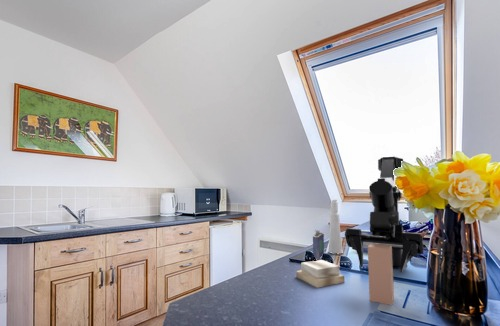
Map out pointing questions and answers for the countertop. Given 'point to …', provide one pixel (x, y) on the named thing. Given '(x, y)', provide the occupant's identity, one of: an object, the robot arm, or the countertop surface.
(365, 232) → the medicine box
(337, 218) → the cosmetic bottle
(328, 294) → the countertop surface
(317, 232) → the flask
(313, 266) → the tower top slab
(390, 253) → the pillar
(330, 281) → the tower base slab
